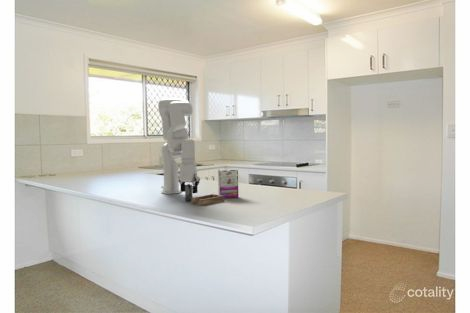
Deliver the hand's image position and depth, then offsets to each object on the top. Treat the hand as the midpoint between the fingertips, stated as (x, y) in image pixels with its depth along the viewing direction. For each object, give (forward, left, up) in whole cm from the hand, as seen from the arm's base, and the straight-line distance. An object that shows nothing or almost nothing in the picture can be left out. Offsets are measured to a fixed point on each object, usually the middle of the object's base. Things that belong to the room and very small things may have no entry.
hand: (189, 192), depth 190 cm
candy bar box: (+10, +22, -5) cm, 25 cm away
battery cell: (0, 0, -5) cm, 5 cm away
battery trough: (+11, +4, -5) cm, 12 cm away
